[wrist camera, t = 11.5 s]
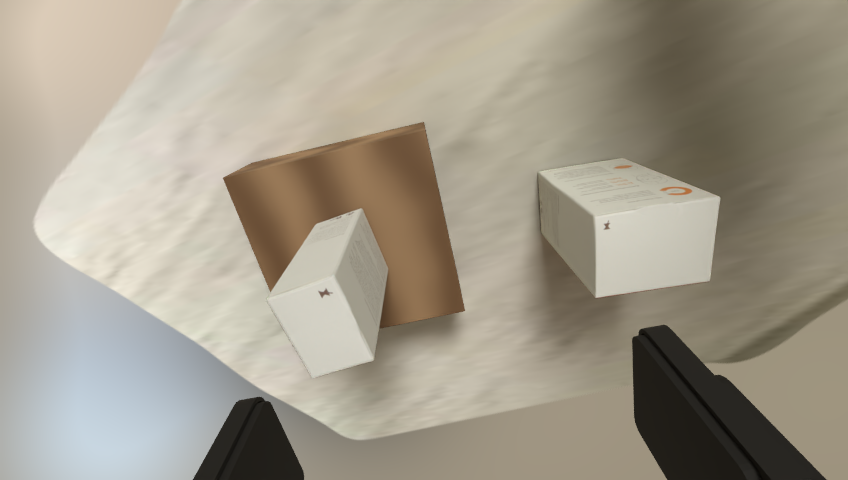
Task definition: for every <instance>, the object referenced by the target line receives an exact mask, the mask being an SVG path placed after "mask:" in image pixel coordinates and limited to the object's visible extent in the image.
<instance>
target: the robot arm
mask: <svg viewBox="0 0 848 480" xmlns="http://www.w3.org/2000/svg"><path fill="white" fill-rule="evenodd" d="M632 349H633V387H634V418H635V423H636V426H637V428H638V431H639V433H640V434H641V436H642V438H643V439H644V441H645V443H646V444H647V446H648V448H649V450H650V451H651V453H652V455H653V456H654V458H655V460H656V461H657V463H658V465H659V466H660V468H661V470H662V472H663V473H664V475H665V477H666V478H667V480H826V479H825V478H824V477H823V476H822V475H821V474H820V473H819V472H818V471H817V470H816V469H815V468H814V467H813V466H812V464H811V463H810V462H809V461H807V459H806V458H805V457H804V456H803V455H802V454H801V453H800V452H799V451H798V450H797V449H796V448H795V447H794V446H793V445H792V444H791V443H790V442H789V441H788V440H787V439H786V438H785V437H784V436H783V435H782V434H781V433H780V432H779V431H778V430H777V429H776V428H775V427H774V426H773V425H772V424H771V423H770V422H769V421H768V420H767V419H766V417H764V416H763V414H762V413H760V411H759V410H758V409H757V408H756V407H755V406H754V405H753V404H752V403H751V402H750V401H749V400H748V399H747V398H746V397H745V396H744V395H743V394H742V393H741V392H740V391H739V390H738V389H737V388H736V387H735V386H734V385H733V384H732V383H731V382H730V381H729V380H728V379H727V378H725V377H723V376H721V375H714V374H713V373H712V372H711V371H710V370H709V369H708V368H707V367H706V366H705V365H704V364H703V363H702V362H701V361H700V360H699V358H698V357H697V356H696V355H695V354H694V353H693V352H692V351H691V350H690V349H689V348H688V347H687V346H686V345H685V344H684V343H683V342H682V341H681V339H680V338H679V337H678V336H677V335H676V334H675V333H674V332H673V331H672V330H671V329H670V328H669V327H668V326H666V325H661V326H655V327H649V328H644V329H640V331H639V335H638V336H634V337H633V339H632ZM193 480H304V473H303V470H302V467H301V465H300V464H299V461H298V459H297V457H296V455H295V453H294V451H293V449H292V447H291V444H290V443H289V440H288V438H287V436H286V434H285V432H284V430H283V428H282V425H281V423H280V421H279V419H278V417H277V415H276V413H275V411H274V409H273V407H272V405H271V403H270V402H268V401H266V402H265V400H264V399H263V398H262V397H256V398H250V399H245V400H239V401H238V402H236V404H235V405H234V407H233V409H232V410H231V412H230V414H229V416H228V418H227V419H226V421H225V423H224V425H223V427H222V428H221V430H220V432H219V434H218V436H217V437H216V439H215V441H214V443H213V445H212V446H211V448H210V450H209V452H208V454H207V455H206V457H205V459H204V461H203V463H202V464H201V466H200V468H199V470H198V472H197V473H196V475H195V477H194V479H193Z"/></svg>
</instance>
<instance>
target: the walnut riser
mask: <svg viewBox="0 0 848 480" xmlns="http://www.w3.org/2000/svg"><path fill="white" fill-rule="evenodd" d="M223 179H224V182H225V184H226V187H227V189H228V191H229V194H230V196H231V199H232V201H233V203H234V206H235V208H236V211H237V213H238V215H239V218H240V220H241V223H242V225H243V227H244V230H245V232H246V235H247V237H248V239H249V242H250V244H251V247H252V249H253V251H254V254H255V256H256V259H257V261H258V263H259V266H260V268H261V271H262V273H263V275H264V278H265V280H266V283H267V285H268V287H269V290H270V292H271V291H272V289H273V288H274V286H275V285H276V284H277V282H278V280H279V279H280V278H281V276H282V274H283V273H284V271H285V270H286V268H287V267H288V265H289V264H290V262H291V261H292V259H293V258H294V256H295V255H296V253H297V252H298V250H299V249H300V247H301V246H302V244H303V243H304V241H305V240H306V238H307V237H308V235H309V234H310V232H311V231H312V229H313V228H314V226H315V225H316V224H317V223H320V222H323V221H326V220H329V219H332V218H335V217H338V216H340V215H343V214H346V213H349V212H352V211H355V210H358V209H360V208H362V209H363V211H364V214H365V216H366V218H367V221H368V223H369V225H370V228H371V230H372V232H373V234H374V237H375V239H376V241H377V244H378V246H379V248H380V251H381V253H382V255H383V258H384V260H385V262H386V265H387V267H388V275H387V281H386V288H385V294H384V301H383V308H382V314H381V320H380V327H379V328H384V327H389V326H394V325H399V324H404V323H409V322H414V321H419V320H423V319H428V318H433V317H438V316H443V315H448V314H453V313H458V312H463V311H465V309H464V304H463V299H462V294H461V289H460V284H459V280H458V275H457V270H456V266H455V261H454V257H453V252H452V248H451V243H450V239H449V234H448V230H447V225H446V221H445V216H444V211H443V207H442V202H441V198H440V193H439V189H438V184H437V180H436V175H435V171H434V166H433V162H432V157H431V152H430V148H429V143H428V139H427V134H426V130H425V125H424V122H422V123H418V124H414V125H409V126H405V127H401V128H397V129H393V130H388V131H384V132H380V133H376V134H372V135H367V136H363V137H359V138H355V139H351V140H346V141H342V142H338V143H334V144H329V145H325V146H321V147H317V148H313V149H308V150H304V151H300V152H296V153H292V154H287V155H283V156H279V157H275V158H271V159H266V160H262V161H258V162H254V163H251V164H249V165H247V166H245V167H243V168H241V169H239V170H237V171H235V172H233V173H232V174H230V175H228V176H226V177H224V178H223Z"/></svg>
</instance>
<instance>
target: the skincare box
mask: <svg viewBox="0 0 848 480" xmlns="http://www.w3.org/2000/svg"><path fill="white" fill-rule="evenodd" d="M387 275H388V267H387V265H386V262H385V260H384V258H383V255H382V253H381V251H380V248H379V246H378V244H377V241H376V239H375V237H374V234H373V232H372V230H371V228H370V225H369V223H368V221H367V218H366V216H365V214H364V211H363V209H362V208H360V209H358V210H355V211H352V212H349V213H346V214H343V215H340V216H338V217H335V218H332V219H329V220H326V221H323V222H320V223H317V224H316V225H315V226H314V228H313V229H312V231H311V232H310V234H309V235H308V237H307V238H306V240H305V241H304V243H303V244H302V246H301V247H300V249H299V250H298V252H297V253H296V255H295V256H294V258H293V259H292V261H291V262H290V264H289V265H288V267H287V268H286V270H285V271H284V273H283V274H282V276H281V278H280V279H279V280H278V282H277V284H276V285H275V286H274V288H273V289H272V291H271V293H270V294H269V296H268V297H267V299H266V301H267V303H268V304H269V306H270V308H271V309H272V311H273V313H274V315H275V316H276V318H277V320H278V321H279V323H280V325H281V327H282V328H283V330H284V332H285V333H286V335H287V337H288V338H289V340H290V342H291V343H292V345H293V347H294V348H295V350H296V352H297V353H298V355H299V357H300V358H301V360H302V362H303V363H304V365H305V367H306V369H307V370H308V372H309V374H310V376H311V378H317V377H320V376H323V375H326V374H329V373H333V372H336V371H340V370H343V369H347V368H350V367H354V366H357V365H361V364H364V363H368V362H372V361H374V359H375V352H376V346H377V340H378V333H379V327H380V320H381V314H382V308H383V301H384V294H385V288H386V281H387Z"/></svg>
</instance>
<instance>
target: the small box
mask: <svg viewBox="0 0 848 480" xmlns="http://www.w3.org/2000/svg"><path fill="white" fill-rule="evenodd" d="M538 183H539V200H540V217H541V233H542V235H543V236H544V237H545V238H546V239H547V241H548V242H549V243H550V244H551V245H552V247H553V248H554V249H555V250H556V252H557V253H558V254H559V255H560V256H561V258H562V259H563V260H564V261H565V262H566V263H567V265H568V266H569V267H570V268H571V269H572V271H573V272H574V273H575V274H576V275H577V277H578V278H579V279H580V280H581V281H582V283H583V284H584V285H585V286H586V287H587V289H588V290H589V291H590V292H591V293H592V295H593V296H594V297H595V298H602V297H609V296H615V295H622V294H629V293H636V292H642V291H649V290H656V289H662V288H669V287H676V286H682V285H689V284H696V283H703V282H709V281H710V277H711V268H712V259H713V251H714V243H715V234H716V227H717V219H718V212H719V205H720V199H721V198H720V197H719V196H717V195H714V194H712V193H710V192H707V191H705V190H702V189H699V188H697V187H694V186H692V185H689V184H687V183H684V182H682V181H679V180H677V179H674V178H672V177H669V176H667V175H664V174H662V173H659V172H657V171H654V170H652V169H649V168H647V167H644V166H642V165H639V164H636V163H634V162H631V161H629V160H627V159H624V158H619V159H612V160H606V161H599V162H593V163H587V164H581V165H575V166H568V167H562V168H556V169H551V170H545V171H539V172H538Z"/></svg>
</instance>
